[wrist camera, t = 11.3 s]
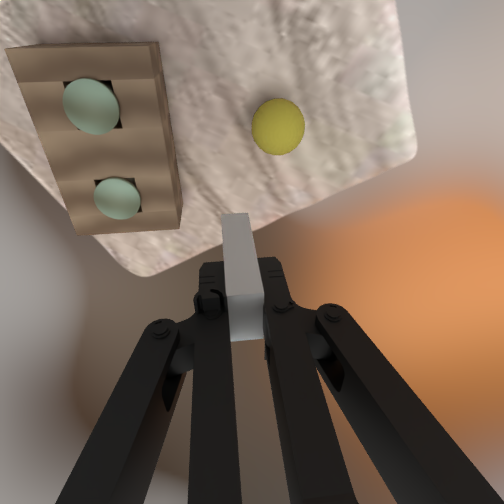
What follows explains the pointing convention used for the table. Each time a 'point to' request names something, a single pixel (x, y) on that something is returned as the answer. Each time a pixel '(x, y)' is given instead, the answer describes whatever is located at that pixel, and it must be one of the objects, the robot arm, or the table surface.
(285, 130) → the yellow light bulb
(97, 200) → the far plunger
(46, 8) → the table surface
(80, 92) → the near plunger
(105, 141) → the socket block
